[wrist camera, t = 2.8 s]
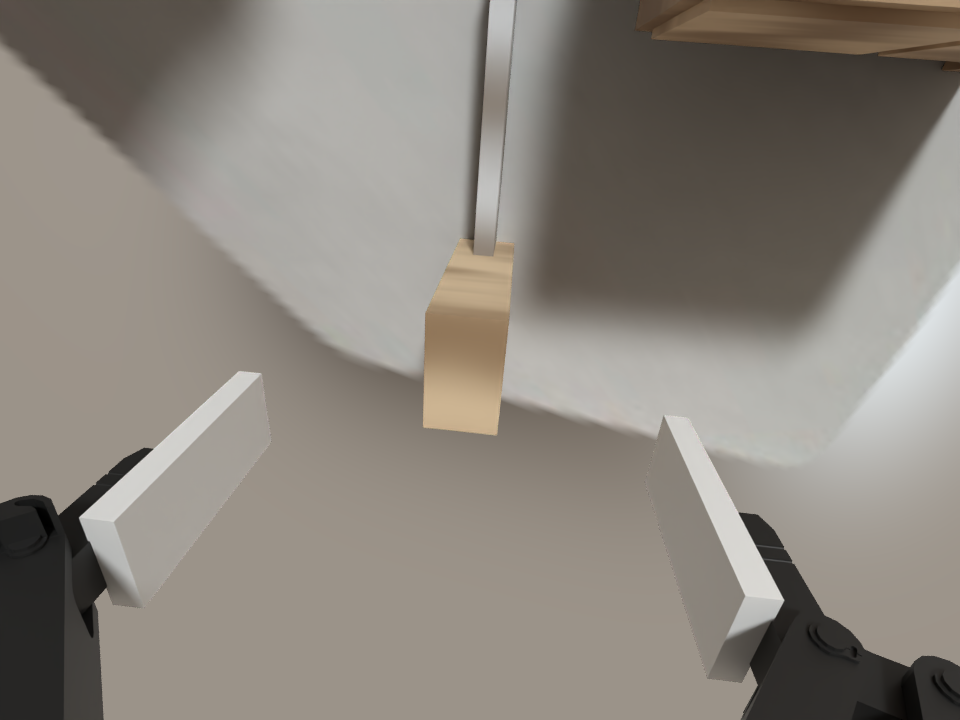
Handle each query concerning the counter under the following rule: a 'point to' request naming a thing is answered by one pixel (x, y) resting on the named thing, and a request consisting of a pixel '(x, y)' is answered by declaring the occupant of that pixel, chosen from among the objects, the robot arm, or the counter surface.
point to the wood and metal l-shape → (476, 274)
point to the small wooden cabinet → (813, 25)
